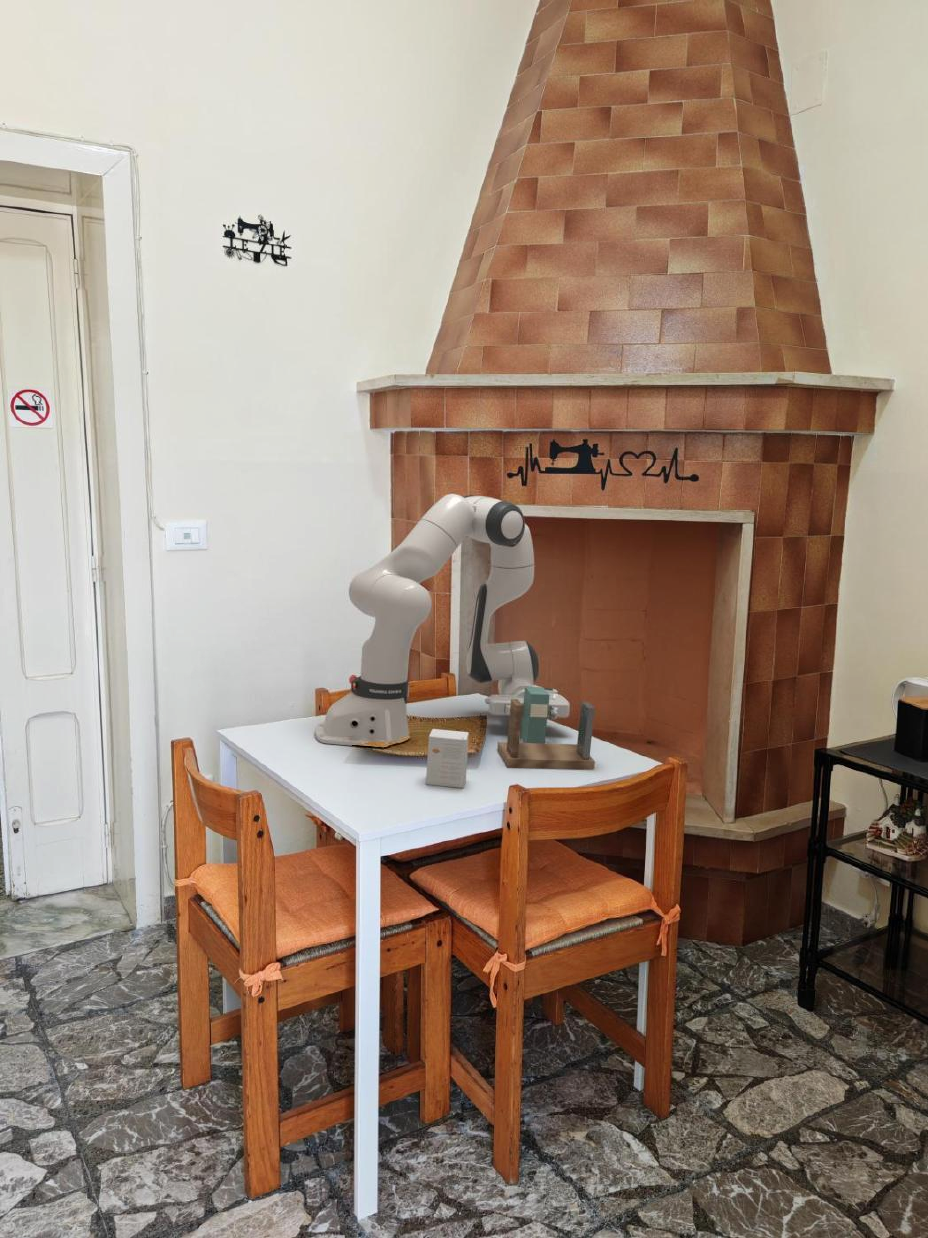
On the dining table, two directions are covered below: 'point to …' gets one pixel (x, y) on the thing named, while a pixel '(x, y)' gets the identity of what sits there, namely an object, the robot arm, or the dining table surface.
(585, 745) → the bookend
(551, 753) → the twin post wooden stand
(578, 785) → the dining table surface
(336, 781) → the dining table surface
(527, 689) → the book
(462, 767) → the small box
